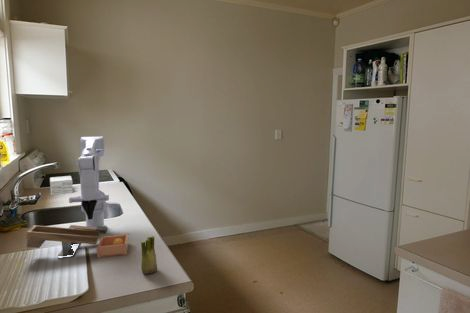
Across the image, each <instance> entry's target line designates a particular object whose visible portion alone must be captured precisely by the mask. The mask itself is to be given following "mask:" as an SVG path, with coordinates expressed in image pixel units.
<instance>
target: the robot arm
mask: <svg viewBox="0 0 470 313" xmlns="http://www.w3.org/2000/svg"><path fill="white" fill-rule="evenodd" d="M80 149H81V155H80V156H79V157H78V158H77V168H78V174H79V179H80V195H78V196H70V197H69V198H68V202H69V204H72V203H80V208H81V212H82V213H84V215H85V226H87V227H97V226H102V227H107V224H105V219H104V218H105V217H104V211H106V209H107V201H109V200H110V197H109V196H110V195H109V194H106V193H105V192H103V191H102V190H100V159H101V157H103V156H104V155H105V137H104V136H102V135H100V136H81V137H80Z"/></svg>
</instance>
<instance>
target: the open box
mask: <svg viewBox="0 0 470 313" xmlns="http://www.w3.org/2000/svg"><path fill="white" fill-rule="evenodd" d="M118 238H119V239H122V240H123V242H124V244H119V245H113V242H114V240H116V239H118ZM129 245H130V244H129V232H126V234H119V235H117V234H116V235H105V236H102V237H101V238H100V240H99V242H98V245H97V247H96V253H97V254H96V256H97V258H98V259H100V258H106V257H115V256H116V257H117V256H122V255H123V256H127V253H128V249H129Z"/></svg>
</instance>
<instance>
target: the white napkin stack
mask: <svg viewBox="0 0 470 313" xmlns="http://www.w3.org/2000/svg"><path fill="white" fill-rule="evenodd" d="M73 184H74V183H73V178H72V176H71V175H64V176H52V177H49V186H50V189H49V190H50V196H55V195H56V196H58V195H67V194H73V193H74V190H73V188H74V187H73Z"/></svg>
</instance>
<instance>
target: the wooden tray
mask: <svg viewBox="0 0 470 313" xmlns="http://www.w3.org/2000/svg"><path fill="white" fill-rule="evenodd" d="M107 231H108V226H106V227H102V226H97V227H87V226H86V225H77V224H75V225H74V224H73V225H72V224H70V226H69V227H59V226H58V227H57V226H47V225H35V224H34V225H32V226H31V228H29V229H28V230H27V231H26V237H25V240H27V241H26V242H27V243H26V248H32V249H35V248H36V249H39V248H41V246H43V244H44V243H45V242H47V241H48V242H58V243H59V242H61V243H62V242H72V243H81V244H88V245H96V244H97V243H98V240H99V238H100V234H101V235H106V234H107Z"/></svg>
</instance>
